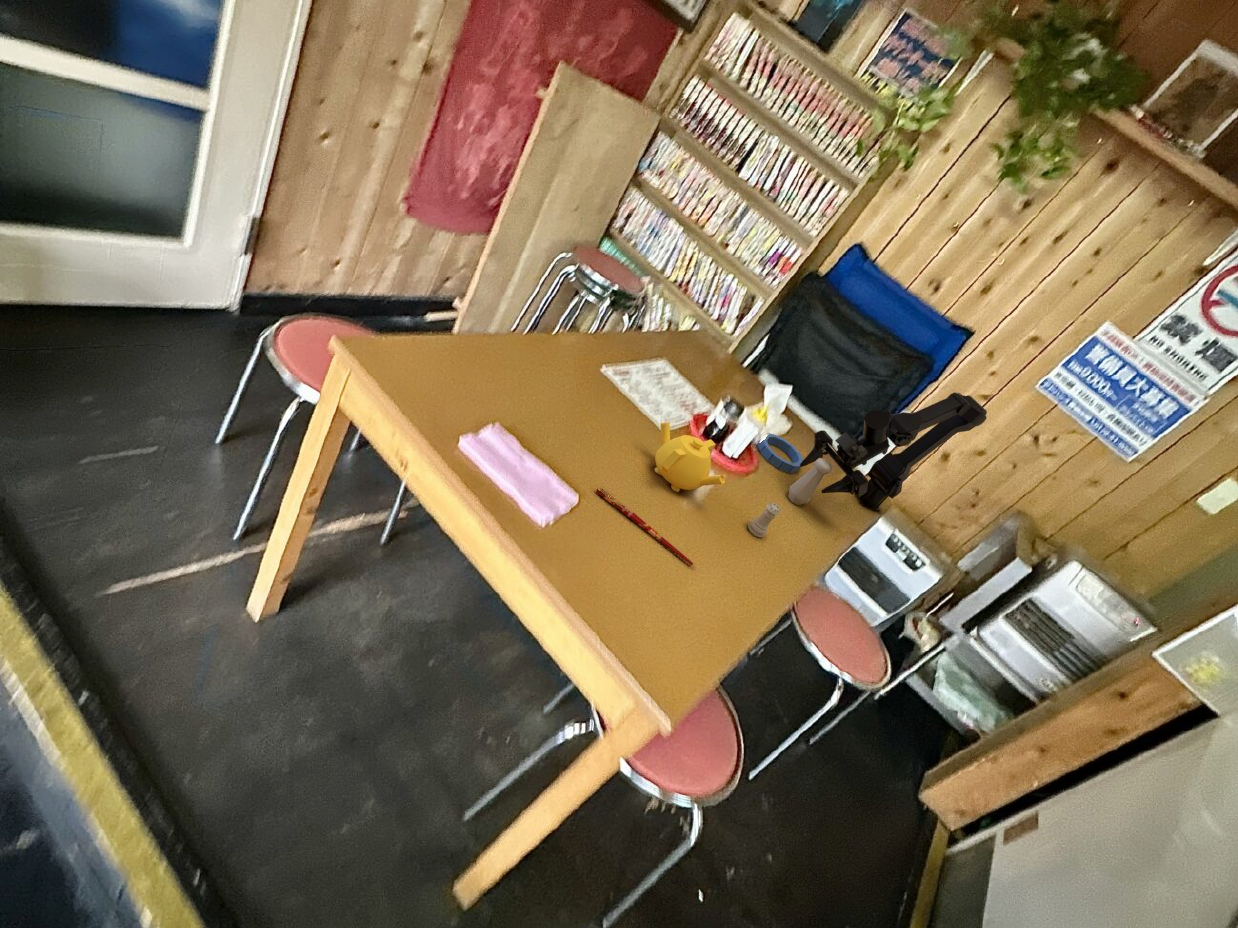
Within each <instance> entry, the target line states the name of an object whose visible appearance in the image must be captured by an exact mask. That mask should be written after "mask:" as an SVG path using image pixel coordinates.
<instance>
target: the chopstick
mask: <svg viewBox="0 0 1238 928" xmlns="http://www.w3.org/2000/svg"><path fill="white" fill-rule="evenodd" d="M602 490H603V489H602ZM595 493H597V494H598V495H599V496H601V497H602V498H603V499H605V501H607V502H608V503H610V504H611V505H612V506H613V507H615V508H616V509H617V510H619V511H620V512H621V513H622V514H624V516H626V517H628V518H629V519H631V520H632V521H633V522H634V523H636V524H637V525H638V526H639V527H641V528H642V529H643V530H645V531H646V532H647V533H649V534H650V535H651V536H653V537H654V538H655V539H656V540H658V541H659V542H660V543H661V544H663V545H664V546H666V548H668V549H669V550H671V552H673V553H674V554H676V555H677V556H679V557H680V558H681V559H682V560H684V561H685V562H687V564H688V565H690V566H693V565H694V563H693V561H691V560H690V559H689V558H688V557H687V556H685V554H683V553H682V552H681V551H680V550H678V549H677V548H676V547H675V546H674V545H673V544H672V543H670V542H669V541H668V540H667V539H665V537H663V536H662V535H661V534H660V533H659V532H657V531H656V530H655V529H654V528H653V527H651V525H649V524H648V523H647V522H646V521H644V520H643V519H642V518H641V517H640V516H638V515H637V513H635V512H634V511H633V510H631V512H630V511H629V510H628V509H627V507H628V506H627V507H626V508H625V506H623V505H622V506H623V507H624V508H625V509H627V510H628V511H625V510H624V509H623V508H621V507H620V506H619V505H617V504H616V503H615V502H614V501H612V500H611V499H610V497H611V496H612V495H611V496H610V497H609V495H608V497H609V498H608V497H607V496H606V495H605V494H603V493H602V492H601V491H599V490H598V488H597V489H596V490H595ZM607 494H608V493H607ZM612 498H613V497H612ZM613 499H614V498H613ZM617 502H618V501H617ZM618 503H619V502H618ZM619 504H620V503H619ZM632 512H633V513H632ZM630 513H631V514H630Z"/></svg>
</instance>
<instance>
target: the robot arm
mask: <svg viewBox="0 0 1238 928" xmlns="http://www.w3.org/2000/svg"><path fill="white" fill-rule="evenodd" d="M987 414H988V411H987V409H986V408H985V407H983V406H982V405H981V404H980V403H979V402H978V401H977V400H976V399H975V398H974V397H973V396H972V395H969V394H968V395H964V394H962V393H960V392H957V391H956V392H955V391H954V392H952V393H950V394H948V396H947V397H946V398H943V399H942V400H939V401H937V402H935V403H932V404H930V405H928V406H926V407H924V408H923V407H922V408H921V409H919V410H917V411H915V412H903V411H901V412H898V413H895V414H892V412H891V411H890V410H889V409H887V410H885V411H883V410H879V409H878V410H876V409H875V410H874V409H873V410H870V411H868V412H867V413H866V414H865V416H864V420H863V421H864V422H863V436H862V437H860V438H857V437H853V438H852V437H850V435H849V434H848V433H847V432H846V431H844V432H843V433H842V434H841V435H840V436H839V437H837V438H836V439H833V438H832V437H831V435H829V433H828V432H827V431H826V430H823V429H821V430H818V431H816V432H815V433H813V434H814V440H813V441H814V446H813V447H812V449H811V450H810V452H809V453H808V454H807V456H805V457H804V458H803V461H802V462H801V463H800V468H803V467H806V466H808V465H811V464H814V462H815V461H816V460H817V459H818V458H823V459H824V456H826V455H829V457H830V458H831V459H832V460H833V461H834V463H836V464H837V466H838V467H839V468H840V470H842V472H843V473H844V474H845V476H843V477H842V478H841V479H840V480H838V481H835V482H833V483H831V484H829V485H828V486H826V487H824V488H823V489H821V491H820V493H821V494H822V495H823V494H835V493H836V494H837V493H842V494H843V493H844V494H846V493H849V494H850V495H851V496H853V495H856V497H857V498H858V500H859V503H860V504H861V506H863V507H865V508H868V509H870V510H873V511H876V512H878V513H880V512H881V509H880V506H881V505H882V504H883V503H885V501H886V500H887V499H888V498H890V499H894V498H895V497H897V496H899V494H900V493H902V489H903V488H902V487H903V483H904V482H905V481H906V480H907V479H908V477H909V474H910V472H911V469H912V468H913V467H914V466H916V465H917V464H918V463H919V462H921V461H922V460H923V459H924V458H926V457H927V456H928V455H930V454H931V453H932V452H933V451H936V450H937V449H938V448H939V447H940V446H941V445H943V444H944V443H945V442H947V440H949V439H950V438H952V437H953V436H954V435H955V434H958V433H964V432H970V431H972V430H973V429H974V428H976V427H979V426H981V425H983V424H984V422H985V421H986V420H987ZM930 427H932V428H930ZM928 428H929V430H927V431H926V432H925V433H923V434H922V435H921V436H920V437H919V438H917V436H918V434H919V433H920V432H922V431H924V430H926V429H928ZM916 438H917V439H916ZM889 440H890V441H889ZM834 441H835V442H836V444H837V445H836V449H835V448H834V446H833V445H834ZM913 441H914V442H913ZM890 442H891V443H892V444H893V445H894V446H896V447H897V448H901V447H906V446H907V447H906V448H904V449H903V450H902V451H901V452H899V453H892V452H888V450H889V448H890V446H891V444H890ZM881 454H882V455H884V456H883V457H881V458H880V459H878V460H876V461H875V462H874V463H873V464H872V465H871V468H870V469H869V471H868V473H867V474H866V475H867V477H869V479H868V478H867V477H866V475H865V474H864V473H863V472H862V471H861V470H860V469H856V468H857V467H859V466H861V465H862V466H866V465H867V463H868V461H870V460H872V459H873V458H875V457H877V456H879V455H881ZM854 469H855V470H854Z"/></svg>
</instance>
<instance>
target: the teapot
mask: <svg viewBox="0 0 1238 928" xmlns="http://www.w3.org/2000/svg"><path fill="white" fill-rule="evenodd" d="M716 446H717V444H716V443H715V442H714V441H713V440H712V439H708V440H705V441H703V440H702V439H701V438H699V437H695V436H693V435H688V434H684V435H680V436H677V437H675V438H674V437H673V438H672V439H671V424H670V422H660V447H659V448H658V449H657V451H656V452H655V456H654V459H655V461H654V462H655V465H656V467H654V472H655V473H656V474H658V475H660V476H661V477H663V479H665V480H666V481H667V482H668V483H669V484H671V485H670V488H671V489H672V490H673V491H674V492H677V493H679V492H680V491H681V489H682V490H686V491H691V490H697V489H701V488H702V487H706V486H714V485H724V484H725V481H726V478H725V475H724V474H723V473H722V474H715V475H710V473H711V465H712V464H711V463H712V459H711V458H712V457H711V456H712V453H713V451H714V449H715V448H716Z"/></svg>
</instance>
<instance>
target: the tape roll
mask: <svg viewBox="0 0 1238 928" xmlns="http://www.w3.org/2000/svg"><path fill="white" fill-rule="evenodd" d="M768 434H769V435H768V436H767V437H766V439H765V440H763V441H762V442H761V443H759V442H758V443H757V448H758V451H759V452H760V454H761V455H762V456H763V458H764V459H765V460H766V461H768V463H769V464H771V465H772V466H774V467H775V468H777V469H778V470H780V471H782V472H785V473H787V474H788V473H789V474H795V473H797V472H798V471H799V470H800V469H801V467H800V463H801V462H802V461H803V460H804V458H803V456H802V454H801V452H800V451H799V450H798V449H797V448H796V447H795V446H794V445H793V444H792V443H791V442H789V441H788V440H786V439H785V438H783V437H782V436H779V435H777V434H774V433H768ZM770 445H772V446H774V447H777V448H778V449H780V450H781V451H782V452H784V453H785V454H786V455H787V456H788V457H789V459H791V461H789V460H786V459H784V458H782V457H781V456H780V455H778V453H776V452H775V451H774V450H773V449H772V448H771V446H770Z"/></svg>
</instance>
